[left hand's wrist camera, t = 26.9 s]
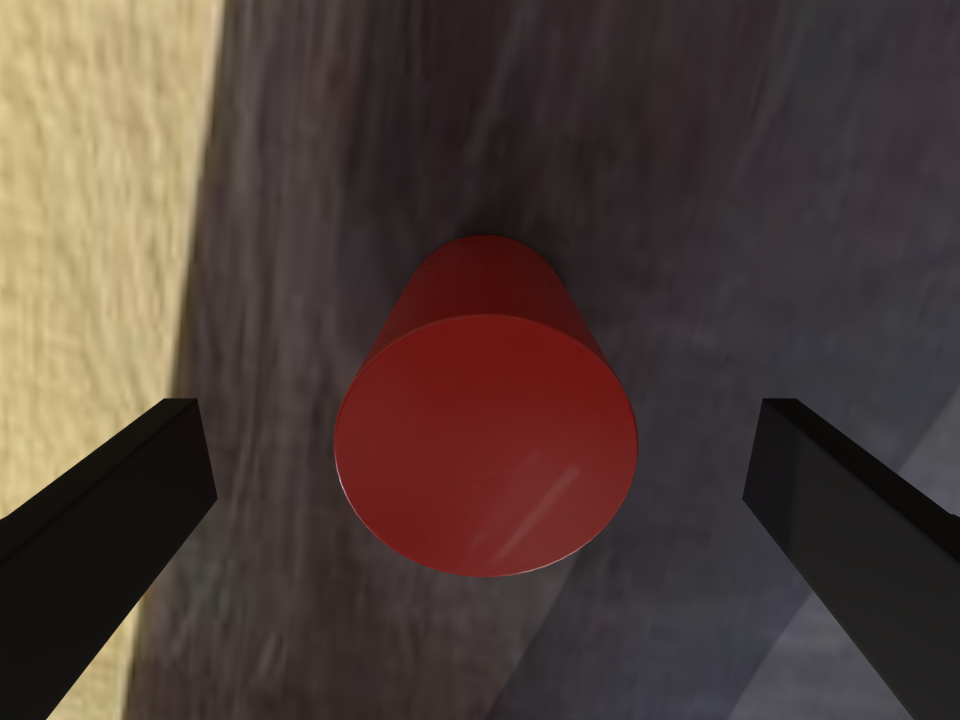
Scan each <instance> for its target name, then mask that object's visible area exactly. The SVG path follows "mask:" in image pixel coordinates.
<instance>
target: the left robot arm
mask: <svg viewBox="0 0 960 720" xmlns="http://www.w3.org/2000/svg"><path fill="white" fill-rule="evenodd" d="M217 499H218V498H217V493H216V488H215V483H214V479H213V474H212V469H211V464H210V459H209V454H208V449H207V444H206V440H205V435H204V430H203V425H202V420H201V415H200V410H199V406H198V401H197V398H164V399H163V400H161V401H160V402H159V403H157V404H156V405H155V406H153V407H152V408H151V409H149V410H148V411H147V412H145V413H144V414H143V415H141V416H140V417H139V418H137V419H136V420H135V421H133V422H132V423H131V424H129V425H128V426H127V427H125V428H124V429H123V430H121V431H120V432H119V433H117V434H116V435H115V436H113V437H112V438H111V439H109V440H108V441H107V442H105V443H104V444H103V445H101V446H100V447H99V448H97V449H96V450H95V451H93V452H92V453H91V454H89V455H88V456H87V457H85V458H84V459H83V460H81V461H80V462H79V463H77V464H76V465H75V466H73V467H72V468H71V469H69V470H68V471H67V472H65V473H64V474H63V475H61V476H60V477H59V478H57V479H56V480H55V481H53V482H52V483H51V484H49V485H48V486H47V487H45V488H44V489H43V490H41V491H40V492H39V493H37V494H36V495H35V496H33V497H32V498H31V499H29V500H28V501H27V502H25V503H24V504H23V505H21V506H20V507H19V508H17V509H16V510H15V511H13V512H12V513H11V514H9V515H8V516H6V517H4V518H2V519H0V720H46V719H47V718H48V717H49V715H50V714H51V713H52V711H53V710H54V709H55V708H56V706H57V705H58V704H59V702H60V701H61V700H62V699H63V697H64V696H65V695H66V693H67V692H68V691H69V690H70V688H71V687H72V686H73V684H74V683H75V682H76V681H77V679H78V678H79V677H80V675H81V674H82V673H83V672H84V670H85V669H86V668H87V666H88V665H89V664H90V663H91V661H92V660H93V659H94V657H95V656H96V655H97V654H98V652H99V651H100V650H101V648H102V647H103V646H104V645H105V643H106V642H107V641H108V639H109V638H110V637H111V636H112V634H113V633H114V632H115V630H116V629H117V628H118V626H119V625H120V624H121V623H122V621H123V620H124V619H125V617H126V616H127V615H128V614H129V612H130V611H131V610H132V608H133V607H134V606H135V605H136V603H137V602H138V601H139V599H140V598H141V597H142V596H143V594H144V593H145V592H146V590H147V589H148V588H149V587H150V585H151V584H152V583H153V581H154V580H155V579H156V578H157V576H158V575H159V574H160V572H161V571H162V570H163V569H164V567H165V566H166V565H167V563H168V562H169V561H170V560H171V558H172V557H173V556H174V554H175V553H176V552H177V551H178V549H179V548H180V547H181V545H182V544H183V543H184V542H185V540H186V539H187V538H188V536H189V535H190V534H191V533H192V531H193V530H194V529H195V527H196V526H197V525H198V524H199V522H200V521H201V520H202V518H203V517H204V516H205V515H206V513H207V512H208V511H209V509H210V508H211V507H212V506H213V504H214V503H215V502H216V500H217ZM742 499H743V500H744V502H745V503H746V504H747V506H748V507H749V508H750V509H751V511H752V512H753V513H754V515H755V516H756V517H757V518H758V520H759V521H760V522H761V524H762V525H763V526H764V527H765V529H766V530H767V531H768V533H769V534H770V535H771V536H772V538H773V539H774V540H775V542H776V543H777V544H778V545H779V547H780V548H781V549H782V551H783V552H784V553H785V554H786V556H787V557H788V558H789V560H790V561H791V562H792V563H793V565H794V566H795V567H796V569H797V570H798V571H799V572H800V574H801V575H802V576H803V578H804V579H805V580H806V581H807V583H808V584H809V585H810V587H811V588H812V589H813V590H814V592H815V593H816V594H817V596H818V597H819V598H820V599H821V601H822V602H823V603H824V605H825V606H826V607H827V608H828V610H829V611H830V612H831V614H832V615H833V616H834V617H835V619H836V620H837V621H838V623H839V624H840V625H841V626H842V628H843V629H844V630H845V632H846V633H847V634H848V636H849V637H850V638H851V639H852V641H853V642H854V643H855V645H856V646H857V647H858V648H859V650H860V651H861V652H862V654H863V655H864V656H865V657H866V659H867V660H868V661H869V663H870V664H871V665H872V666H873V668H874V669H875V670H876V672H877V673H878V674H879V675H880V677H881V678H882V679H883V681H884V682H885V683H886V684H887V686H888V687H889V688H890V690H891V691H892V692H893V693H894V695H895V696H896V697H897V699H898V700H899V701H900V702H901V704H902V705H903V706H904V708H905V709H906V710H907V711H908V713H909V714H910V715H911V717H912V718H913V719H914V720H960V517H958V516H956V515H954V514H949V513H948V512H947V511H945V510H944V509H943V508H941V507H940V506H939V505H937V504H936V503H935V502H933V501H932V500H931V499H929V498H928V497H927V496H925V495H924V494H923V493H921V492H920V491H919V490H917V489H916V488H915V487H913V486H912V485H911V484H909V483H908V482H907V481H905V480H904V479H903V478H901V477H900V476H899V475H897V474H896V473H895V472H893V471H892V470H891V469H889V468H888V467H887V466H885V465H884V464H883V463H881V462H880V461H879V460H877V459H876V458H875V457H873V456H872V455H871V454H869V453H868V452H867V451H865V450H864V449H863V448H861V447H860V446H859V445H857V444H856V443H855V442H853V441H852V440H851V439H849V438H848V437H847V436H845V435H844V434H843V433H841V432H840V431H839V430H837V429H836V428H835V427H833V426H832V425H831V424H829V423H828V422H827V421H825V420H824V419H823V418H821V417H820V416H819V415H817V414H816V413H815V412H813V411H812V410H811V409H809V408H808V407H807V406H805V405H804V404H803V403H801V402H800V401H799V400H797V399H796V398H763V401H762V406H761V410H760V415H759V420H758V425H757V430H756V435H755V440H754V444H753V449H752V454H751V459H750V464H749V469H748V474H747V478H746V483H745V488H744V493H743V498H742Z"/></svg>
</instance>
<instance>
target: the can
mask: <svg viewBox="0 0 960 720" xmlns="http://www.w3.org/2000/svg"><path fill="white" fill-rule="evenodd" d="M334 455H335V464H336V468H337V472H338V476H339V480H340V483H341V486H342V488H343V490H344V493H345V495H346V497H347V500H348V501H349V503H350V505H351V506H352V508H353V510H354V511H355V513H356V514H357V515H358V517H359V518H360V519H361V521H362V522H363V523H364V524H365V526H366V527H367V528H368V529H369V530H370V531H371V532H372V533H373V534H374V535H375V536H376V537H378V538H379V539H380V540H381V541H382V542H384V543H385V544H386V545H388V546H389V547H390V548H392V549H393V550H395V551H396V552H398V553H400V554H401V555H403V556H405V557H406V558H408V559H411V560H413V561H415V562H417V563H419V564H422V565H424V566H427V567H430V568H433V569H436V570H439V571H443V572H448V573H452V574H457V575H465V576H474V577H497V576H508V575H515V574H520V573H525V572H529V571H533V570H536V569H539V568H542V567H546V566H548V565H550V564H553V563H555V562H557V561H560V560H562V559H564V558H565V557H567V556H569V555H571V554H572V553H574V552H576V551H577V550H579V549H580V548H582V547H583V546H584V545H586V544H587V543H588V542H590V541H591V540H592V539H593V538H594V537H595V536H596V535H598V534H599V533H600V532H601V531H602V530H603V529H604V528H605V527H606V525H607V524H608V523H609V522H610V521H611V519H612V518H613V517H614V516H615V514H616V513H617V511H618V509H619V508H620V506H621V505H622V503H623V502H624V499H625V497H626V495H627V493H628V491H629V488H630V486H631V483H632V480H633V476H634V473H635V469H636V463H637V455H638V432H637V426H636V420H635V415H634V412H633V409H632V407H631V404H630V401H629V398H628V396H627V394H626V392H625V390H624V388H623V386H622V385H621V383H620V381H619V379H618V377H617V376H616V374H615V372H614V371H613V369H612V367H611V366H610V364H609V362H608V360H607V359H606V357H605V355H604V354H603V352H602V350H601V348H600V347H599V345H598V343H597V342H596V340H595V338H594V336H593V335H592V333H591V331H590V330H589V328H588V326H587V324H586V323H585V321H584V319H583V318H582V316H581V314H580V313H579V311H578V309H577V307H576V306H575V304H574V302H573V301H572V299H571V297H570V295H569V294H568V292H567V290H566V289H565V287H564V285H563V283H562V282H561V280H560V278H559V277H558V275H557V273H556V272H555V271H554V269H553V268H552V266H551V265H550V264H549V263H548V262H547V261H546V260H545V259H544V258H543V257H542V256H541V255H540V254H539V253H537V252H536V251H535V250H533V249H532V248H530V247H528V246H527V245H525V244H523V243H521V242H518V241H516V240H513V239H510V238H506V237H503V236H496V235H475V236H468V237H464V238H460V239H457V240H454V241H452V242H449V243H447V244H445V245H443V246H442V247H440V248H438V249H437V250H435V251H434V252H433V253H431V254H430V255H429V256H428V257H427V258H426V259H425V260H424V261H423V262H422V263H421V264H420V265H419V266H418V268H417V269H416V270H415V272H414V273H413V275H412V277H411V278H410V280H409V282H408V284H407V286H406V287H405V289H404V291H403V293H402V294H401V296H400V298H399V300H398V301H397V303H396V305H395V307H394V309H393V310H392V312H391V314H390V316H389V317H388V319H387V321H386V323H385V325H384V326H383V328H382V330H381V332H380V333H379V335H378V337H377V339H376V340H375V342H374V344H373V346H372V348H371V349H370V351H369V353H368V355H367V356H366V358H365V360H364V362H363V363H362V365H361V367H360V369H359V371H358V372H357V374H356V376H355V378H354V379H353V381H352V383H351V385H350V387H349V389H348V390H347V392H346V394H345V396H344V398H343V401H342V404H341V407H340V409H339V412H338V416H337V421H336V426H335V432H334Z"/></svg>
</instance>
